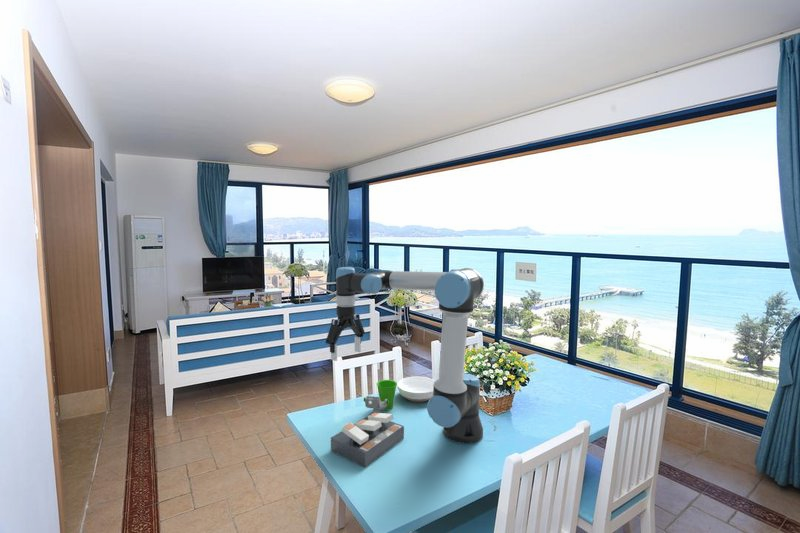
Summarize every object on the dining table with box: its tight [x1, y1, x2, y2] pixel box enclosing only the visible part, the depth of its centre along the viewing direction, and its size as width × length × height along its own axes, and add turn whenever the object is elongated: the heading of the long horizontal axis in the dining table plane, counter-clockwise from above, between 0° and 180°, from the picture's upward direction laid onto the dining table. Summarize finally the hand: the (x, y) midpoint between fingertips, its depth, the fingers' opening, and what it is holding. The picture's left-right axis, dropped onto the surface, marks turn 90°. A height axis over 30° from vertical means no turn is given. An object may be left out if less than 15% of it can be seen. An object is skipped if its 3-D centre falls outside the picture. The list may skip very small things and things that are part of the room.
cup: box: [376, 379, 398, 411], centre depth 171 cm, size 9×9×11 cm
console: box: [330, 413, 405, 468], centre depth 142 cm, size 16×22×6 cm
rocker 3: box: [367, 412, 394, 423], centre depth 147 cm, size 9×4×2 cm, turn 54°
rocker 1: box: [341, 421, 369, 445], centre depth 136 cm, size 9×4×2 cm, turn 54°
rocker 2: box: [354, 419, 382, 431], centre depth 141 cm, size 9×4×2 cm, turn 54°
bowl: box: [396, 375, 436, 403], centre depth 183 cm, size 20×20×6 cm
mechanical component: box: [363, 395, 389, 413], centre depth 158 cm, size 3×10×10 cm, turn 78°
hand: (346, 355), depth 161 cm, fingers open, 13 cm apart
